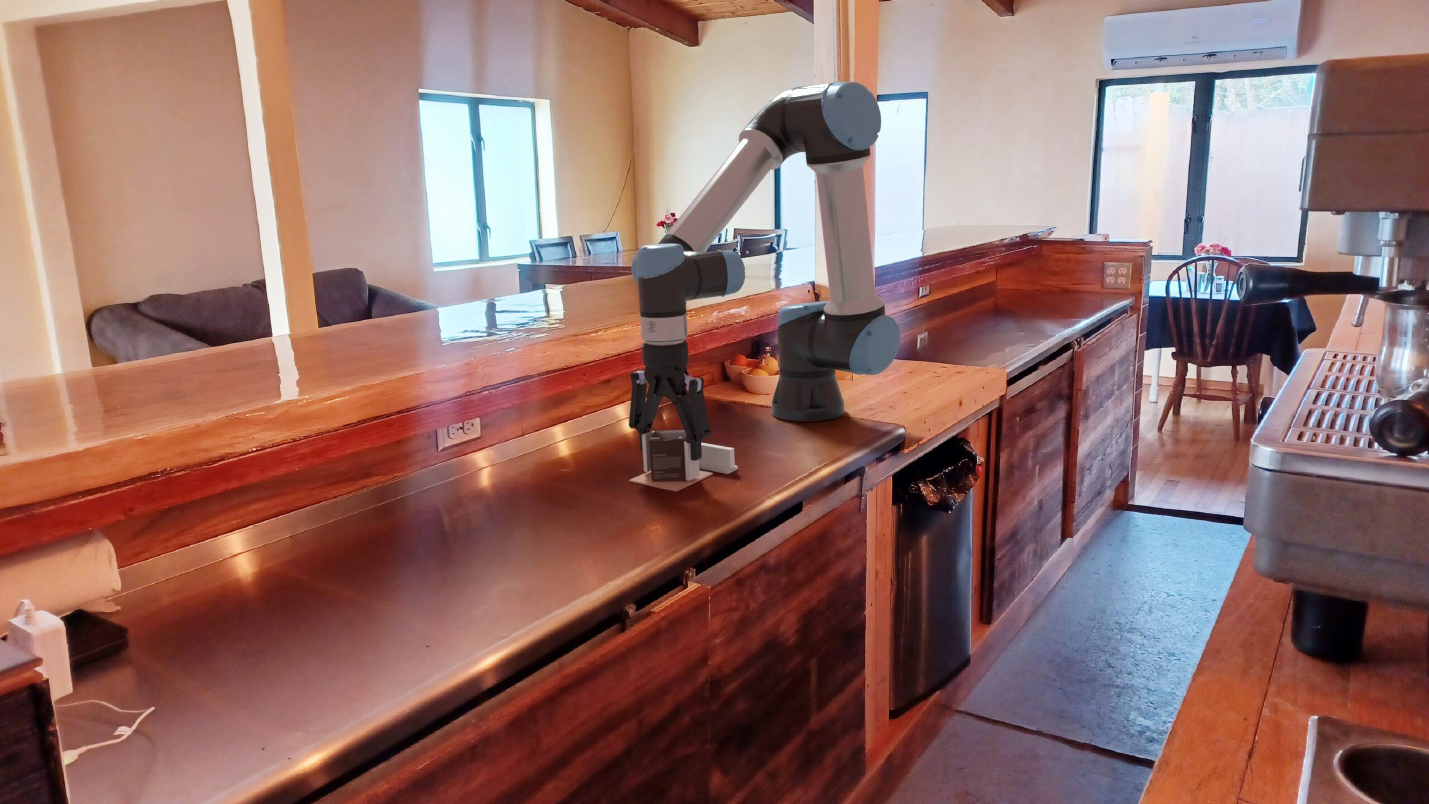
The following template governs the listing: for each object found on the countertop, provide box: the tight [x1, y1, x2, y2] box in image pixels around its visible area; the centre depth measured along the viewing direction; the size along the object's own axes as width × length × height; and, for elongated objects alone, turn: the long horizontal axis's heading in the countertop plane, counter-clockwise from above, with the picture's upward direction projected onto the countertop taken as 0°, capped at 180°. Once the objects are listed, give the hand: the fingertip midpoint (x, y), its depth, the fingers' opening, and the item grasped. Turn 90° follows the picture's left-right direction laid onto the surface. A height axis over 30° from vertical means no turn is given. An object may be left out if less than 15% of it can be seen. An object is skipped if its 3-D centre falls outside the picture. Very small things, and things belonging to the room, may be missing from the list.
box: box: [649, 429, 688, 481], centre depth 158 cm, size 6×6×7 cm
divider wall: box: [699, 442, 739, 475], centre depth 164 cm, size 3×13×4 cm, turn 54°
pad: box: [628, 469, 714, 492], centre depth 159 cm, size 10×10×1 cm
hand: (671, 473), depth 159 cm, fingers open, 8 cm apart
